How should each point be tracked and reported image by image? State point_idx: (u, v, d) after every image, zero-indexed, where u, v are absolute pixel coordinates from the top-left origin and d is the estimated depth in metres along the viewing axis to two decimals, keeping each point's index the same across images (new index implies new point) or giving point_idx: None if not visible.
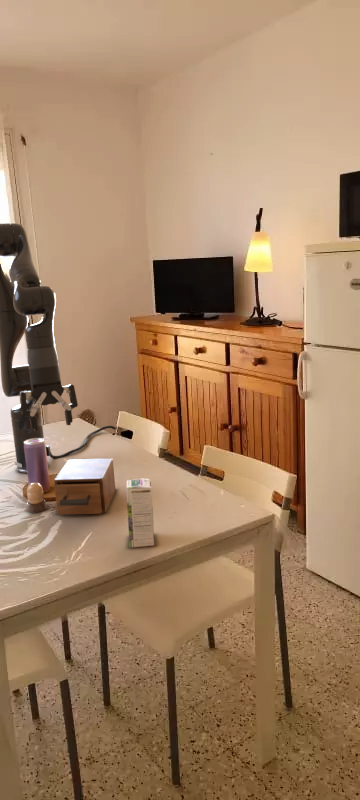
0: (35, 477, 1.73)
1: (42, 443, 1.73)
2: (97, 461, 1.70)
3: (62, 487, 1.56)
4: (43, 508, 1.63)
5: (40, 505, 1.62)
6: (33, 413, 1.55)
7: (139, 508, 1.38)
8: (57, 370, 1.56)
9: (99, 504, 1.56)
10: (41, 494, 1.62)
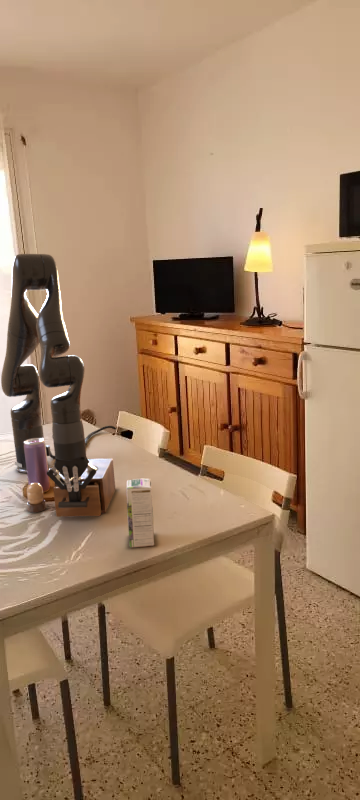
0: (35, 477, 1.73)
1: (42, 443, 1.73)
2: (97, 461, 1.70)
3: None
4: (43, 508, 1.63)
5: (40, 505, 1.62)
6: (70, 488, 1.51)
7: (139, 508, 1.38)
8: (78, 446, 1.47)
9: (98, 506, 1.55)
10: (41, 494, 1.62)
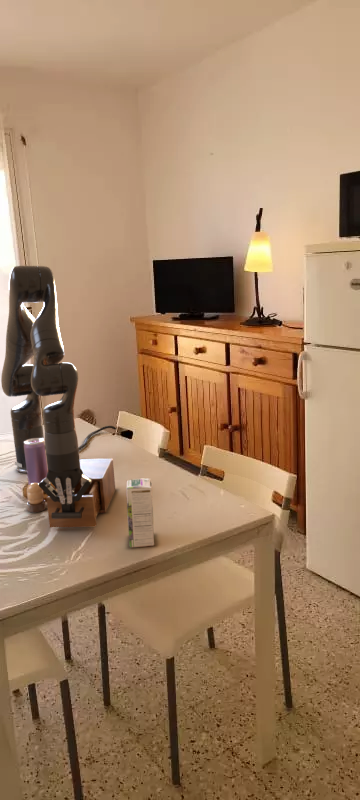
0: (35, 477, 1.73)
1: (42, 443, 1.73)
2: (97, 461, 1.70)
3: None
4: (43, 508, 1.63)
5: (40, 505, 1.62)
6: (63, 501, 1.45)
7: (139, 508, 1.38)
8: (71, 457, 1.41)
9: (93, 517, 1.49)
10: (41, 494, 1.62)
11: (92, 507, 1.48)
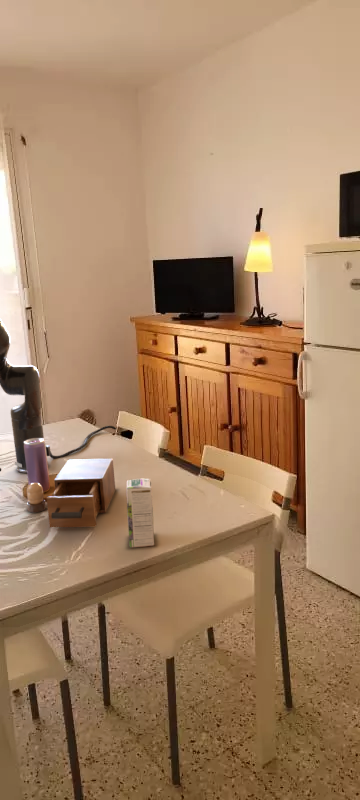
0: (35, 477, 1.73)
1: (42, 443, 1.73)
2: (97, 461, 1.70)
3: (54, 499, 1.49)
4: (43, 508, 1.63)
5: (40, 505, 1.62)
6: None
7: (139, 508, 1.38)
8: None
9: (93, 517, 1.49)
10: (41, 494, 1.62)
11: (92, 507, 1.48)
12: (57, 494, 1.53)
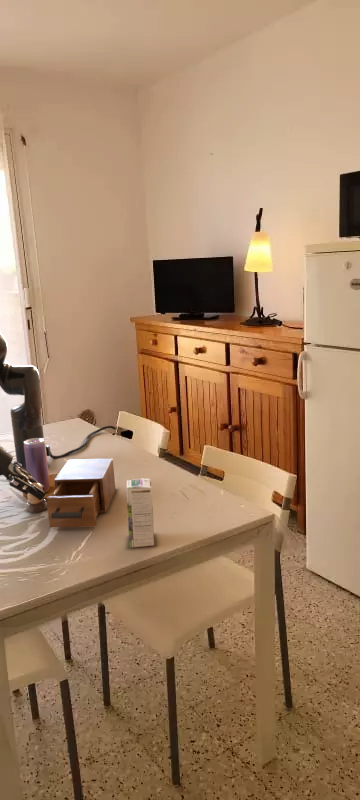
0: (35, 477, 1.73)
1: (42, 443, 1.73)
2: (97, 461, 1.70)
3: (54, 499, 1.49)
4: (43, 508, 1.63)
5: (40, 505, 1.62)
6: None
7: (139, 508, 1.38)
8: None
9: (93, 517, 1.49)
10: None
11: (92, 507, 1.48)
12: (57, 494, 1.53)
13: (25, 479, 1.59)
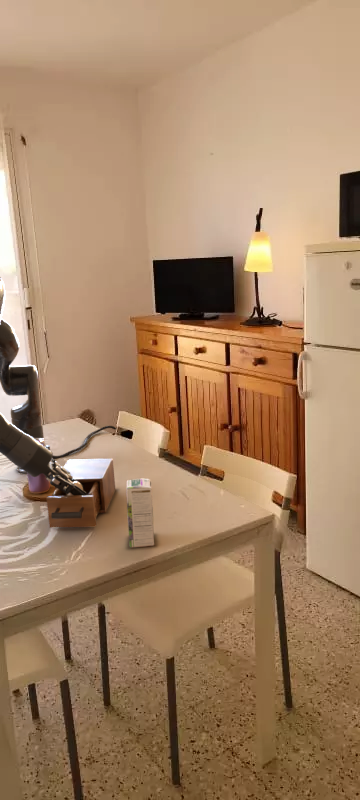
0: (35, 477, 1.73)
1: (42, 443, 1.73)
2: (97, 461, 1.70)
3: (54, 499, 1.49)
4: None
5: None
6: None
7: (139, 508, 1.38)
8: (27, 469, 1.46)
9: (93, 517, 1.49)
10: None
11: (92, 507, 1.48)
12: (57, 494, 1.53)
13: (65, 478, 1.49)
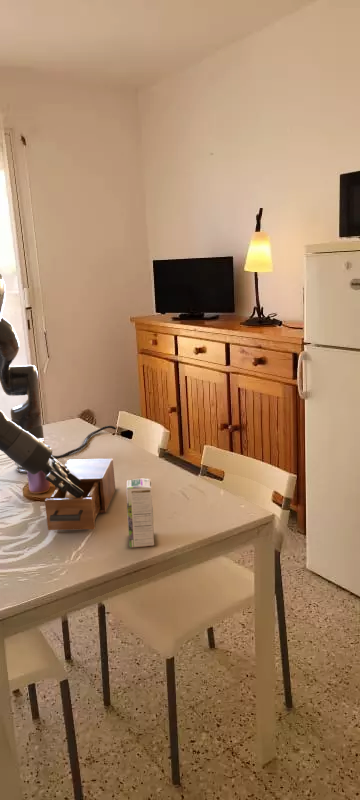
0: (35, 477, 1.73)
1: None
2: (97, 461, 1.70)
3: (53, 501, 1.47)
4: None
5: None
6: None
7: (139, 508, 1.38)
8: (26, 466, 1.46)
9: (92, 519, 1.48)
10: None
11: (91, 509, 1.47)
12: (55, 496, 1.52)
13: (63, 475, 1.47)
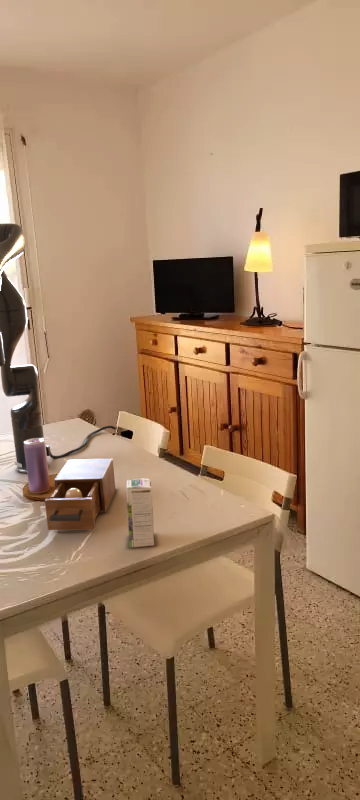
0: (35, 477, 1.73)
1: (42, 443, 1.73)
2: (97, 461, 1.70)
3: (53, 501, 1.47)
4: None
5: None
6: None
7: (139, 508, 1.38)
8: None
9: (92, 519, 1.48)
10: None
11: (91, 510, 1.47)
12: (55, 496, 1.52)
13: None
